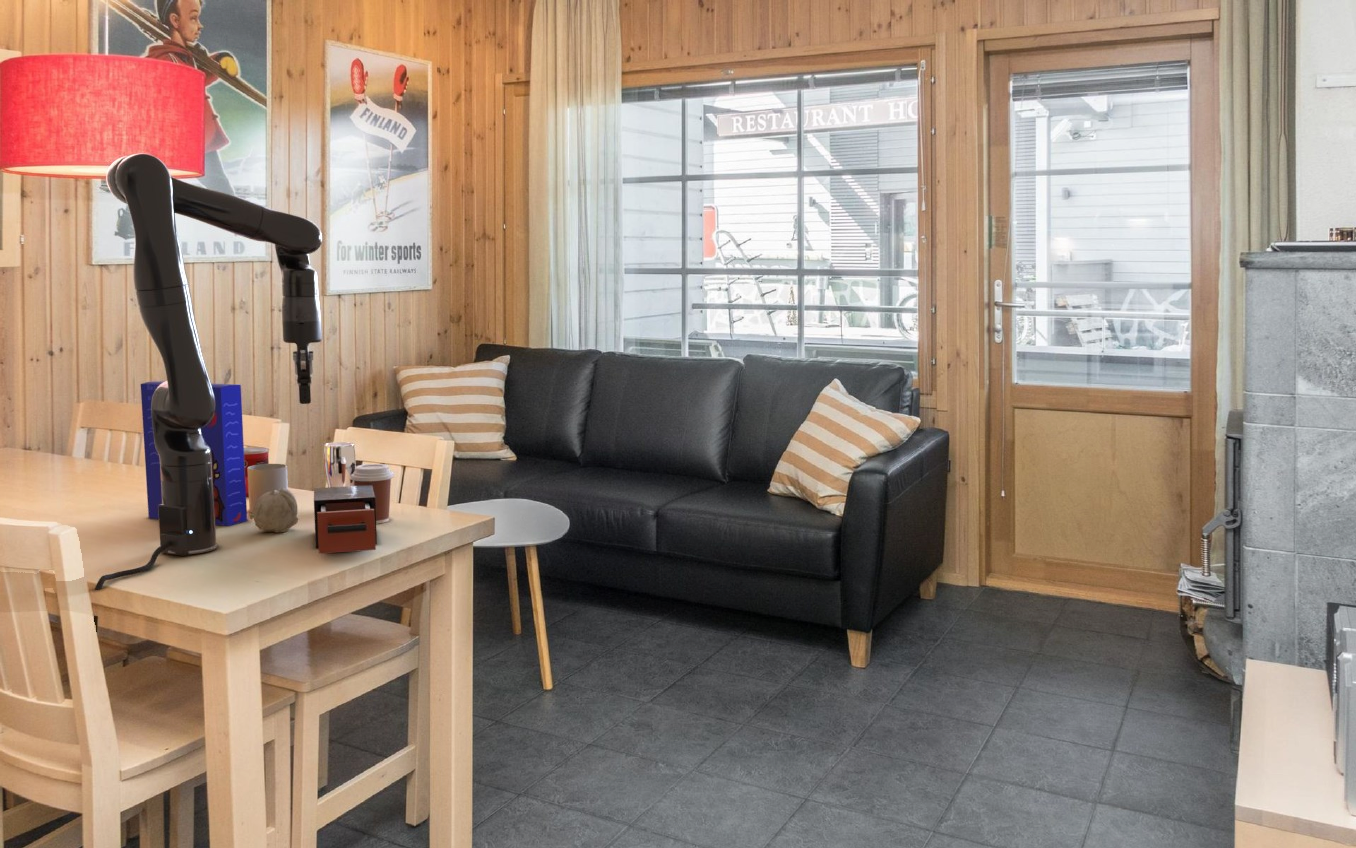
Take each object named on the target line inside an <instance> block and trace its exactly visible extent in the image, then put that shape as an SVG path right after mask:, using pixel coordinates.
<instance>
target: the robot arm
mask: <svg viewBox="0 0 1356 848" xmlns="http://www.w3.org/2000/svg"><path fill="white" fill-rule="evenodd" d="M105 178H106V185H107V187H108V189H109V191H110V193H111V194H112V195H113V196H114V197H115V198H116V199H117V200H119V201H120V202H122V203H124V204H126V205H127V207H128V210H129V211H128V212H129V215H130V218H131V222H132V226H133V232H134V257H133V285H134V290H135V296H136V300H137V306H138V310H139V314H140V316H141V319H142V321H143V325H144V326H145V328H146V330H147V332H148V333H149V336H150V338H151V339H152V341H153V343H154V344H155V346H156V348H157V350H158V353H159V354H160V356H161V358H162V362H163V365H164V370H165V376H166V380H165V382H163V383H162V384H160V385H159V386H158V387H157V388H156V390H155V392H154V394H153V397H152V402H151V414H152V425H153V434H154V443H155V447H156V450H157V452H158V454H159V458H160V472H161V490H162V504H159V505H158V514H159V519H158V527H159V529H158V530H159V531H158V532H159V545H160V546H159V547H157V548H156V549H155V550H154V551H153V553H152V555H151V557H150V559H149V561H148V562H147V563H146V564H144V565H141V566H138V567H136V568H130V569H125V570H121V571H116V572H113V573H108V574H103V575H101V577H100V578H99V579H98V581H97V582H96V584H95V587H94V591H100V590H102V589H103V586H104V584H105V582H106V581H111V580H115V579H118V578H123V577H127V576H133V575H137V574H140V573H143V572H146V571H148V570H150V569H151V568H152V567H153V566H154V565H155V564H156V561H157V559H158V557H159V555H160V554H167V555H171V556H172V555H174V556H179V557H186V556H189V555H198V554H205V553H208V552H211V551H214V550H216V549H217V548H218V543H217V532H216V531H217V530H216V529H217V528H216V525H215V510H214V491H213V472H212V454H211V449H210V447H209V446H208V444H207V443H206V442H205V440H204V439H203V436H202V433H201V428H203V427H205V426H206V425H207V424H208V423H209V422H210V421H211V419H212V418H213V416H214V413H215V397H214V393H213V389H212V386H211V383H212V382H211V380H210V377H209V374H208V370H207V368H206V364H205V361H204V357H203V353H202V349H201V348H202V347H201V343H200V337H199V332H198V328H197V322H196V318H195V313H194V312H195V311H194V304H193V299H192V298H193V297H192V294H191V289H190V284H189V279H188V275H187V271H186V267H185V260H184V256H183V252H182V248H181V244H180V239H179V235H178V230H177V224H176V215H181V216H183V217H187V218H190V219H193V220H196V221H199V222H201V223H204V224H207V225H209V226H212V227H215V228H218V229H220V230H223V231H226V232H229V233H232V234H235V235H237V236H240V237H243V238H245V239H249V240H253V241H255V242H261V243H262V242H263V243H270V244H273V245H274V249H275V254H276V258H277V262H278V267H279V270H280V273H281V291H282V293H281V294H282V295H281V296H282V302H281V320H282V321H281V323H282V324H281V325H282V340H283V342H284V343H286V344H295V345H296V351H295V350H293V351H292V360H293V361H294V375H296V376H297V378H296V382H297V383H296V384H297V386H298V400H299V404H301V405H309V404H311V402H312V396H311V395H312V394H311V385H312V376H311V375H313V372H314V369H313V368H314V367H313V361H314V351H313V350H310V344H311V343H312V344H315V343H321V341H322V340H323V336H322V335H323V334H322V333H323V332H322V312H321V311H322V310H321V303H320V297H319V296H320V295H319V294H320V289H319V277H318V272H317V271H316V269H315V268H313V267H312V265H311V260H310V255H311V254H313V253H315V252H317V251H318V250H319V248H321V246H322V243H323V234H322V231H321V229H320V228H319V226H318V225H317V224H316V223H314V221H311V220H309V219H307V218H305V217H301V216H299V215H295V214H291V213H286V212H283V211H279V210H275V209H272V208H269V207H266V206H265V205H262V204H260V203H257V202H254V201H251V200H249V199H246V198H243V197H240V196H237V195H233V194H229V193H226V192H223V191H218V190H214V189H210V188H205V187H202V186H198V185H195V184H191V183H188V182H186V181H183V180H181V179H178V178H176V177H174V176H171V173H170V170H169V169H168V167H167V165H166V164H165V163H164V162H163V161H162V160H161V159H160V158H158V157H157V156H155V155H153V154H149V153H144V152H143V153H134V154H129V155H124V156H122V157H119V158H117V159H116V160H115V161H113V162H112V163H111V165H110V166H109V167H108V169H107V172H106V177H105ZM175 214H176V215H175ZM93 615H94V614H93ZM94 622H95V625H96V632H97V633H98V624H99V616H98V615H94Z"/></svg>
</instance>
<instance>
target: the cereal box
mask: <svg viewBox="0 0 1356 848" xmlns="http://www.w3.org/2000/svg"><path fill="white" fill-rule="evenodd" d="M165 381H166V380H165ZM165 381H164V380H163V381H162V380H160V381H159V380H157V381H146V382H143V383H140V398H141V399H140V400H141V413H142V414H141V415H142V431H143V448H144V464H145V465H144V466H145V479H146V481H145V482H146V495H147V496H146V497H147V513H148V514H147V515H148V519H152V520H159V514H158V505H159V504H162V490H161V472H160V458H159V454H158V452H157V450H156V447H155V443H154V434H153V425H152V414H151V402H152V397H153V394H154V392H155V390H156V388H157V387H158V386H159V385H160V384H162V383H163V382H165ZM210 383H211V386H212V389H213V393H214V397H215V413H214V416H213V418H212V419H211V421H210V422H209V423H208V424H207V425H206V426H205V427H203V428H201V433H202V436H203V439H204V440H205V442H206V443H207V444H208V446H209V447H210V449H211V454H212V472H213V491H214V510H215V526H223V527H229V526H233V525H236V524H239V523H243V522H246V521H248V508H247V507H248V506H247V496H246V483H245V463H244V448H245V445H244V443H245V442H244V423H243V405H242V402H243V401H242V385H241V384H235V383H234V384H233V383H212V382H210Z"/></svg>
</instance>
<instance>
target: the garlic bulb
mask: <svg viewBox="0 0 1356 848" xmlns="http://www.w3.org/2000/svg"><path fill="white" fill-rule="evenodd" d="M247 517H248V518H249V519H250V520H253V522H254V523H255V527H257V529H258V530H260V531H261V532H262V533H275V534H277V533H285V532H287V531H288V530H289V529H291V528H292V527H294V526H296V524H298V522H299V517H298V502H297V499H296V497H295V496H294V494H293V493H292V492H291V490H289V488H288V489H285V488H281V489H279V490H273V491H271V492H267V493H265V494H263V495H262V496H260V497H259V498H258V499H257V500H256V502H255V505H254V507H253V513H248V514H247Z"/></svg>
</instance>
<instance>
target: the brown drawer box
mask: <svg viewBox="0 0 1356 848" xmlns="http://www.w3.org/2000/svg"><path fill="white" fill-rule="evenodd" d="M317 519H318V543H319V548H318V554H331V553H333V554H335V553H346V552H360V551H363V552H364V551H375V550H377V547H376V545H375V517H374V509H370V507H369V502H368V501H367V502H350V503H332V504H321V512H317Z"/></svg>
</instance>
